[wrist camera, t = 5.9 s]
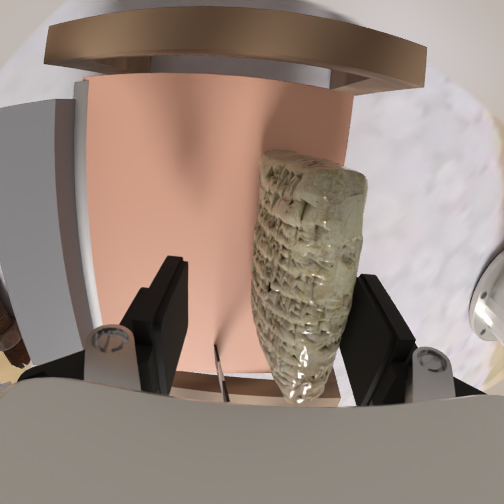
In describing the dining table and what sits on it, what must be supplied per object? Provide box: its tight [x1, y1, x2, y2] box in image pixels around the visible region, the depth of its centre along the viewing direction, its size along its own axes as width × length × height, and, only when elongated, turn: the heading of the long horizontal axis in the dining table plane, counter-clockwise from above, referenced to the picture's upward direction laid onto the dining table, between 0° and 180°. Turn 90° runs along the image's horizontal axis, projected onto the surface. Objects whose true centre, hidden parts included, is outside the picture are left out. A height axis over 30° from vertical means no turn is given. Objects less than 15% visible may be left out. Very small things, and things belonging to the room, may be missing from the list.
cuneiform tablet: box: [214, 150, 368, 405], centre depth 13 cm, size 7×4×12 cm
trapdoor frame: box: [44, 6, 427, 407], centre depth 19 cm, size 17×22×10 cm
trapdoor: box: [0, 73, 354, 373], centre depth 15 cm, size 16×16×5 cm
